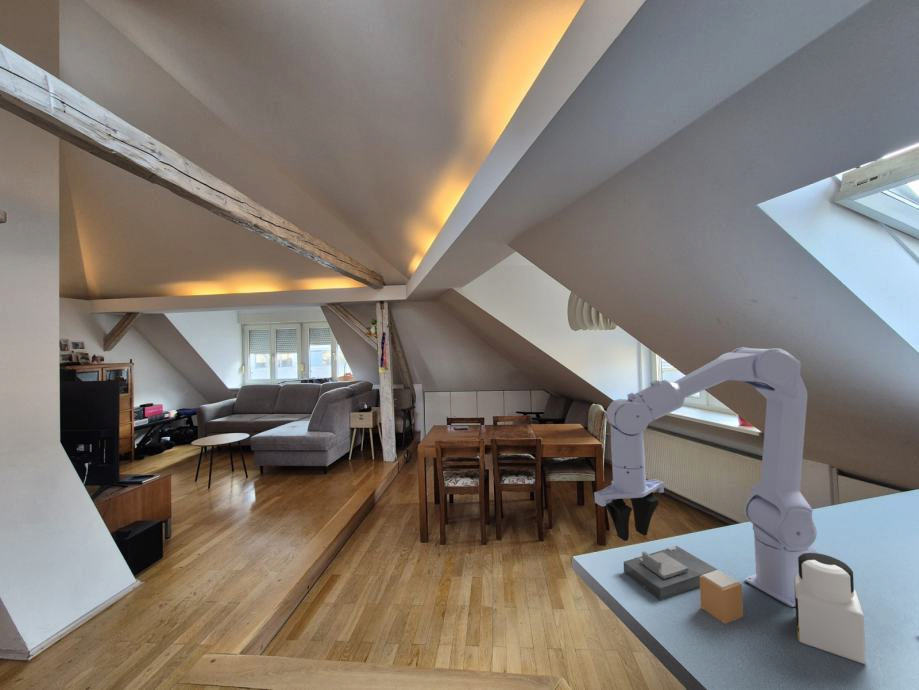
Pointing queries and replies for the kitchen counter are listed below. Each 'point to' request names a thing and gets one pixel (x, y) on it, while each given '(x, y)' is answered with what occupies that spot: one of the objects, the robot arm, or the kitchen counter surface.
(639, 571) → the socket plate
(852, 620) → the medicine bottle
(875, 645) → the kitchen counter surface
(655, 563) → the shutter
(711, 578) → the brown and white block
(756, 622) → the kitchen counter surface
